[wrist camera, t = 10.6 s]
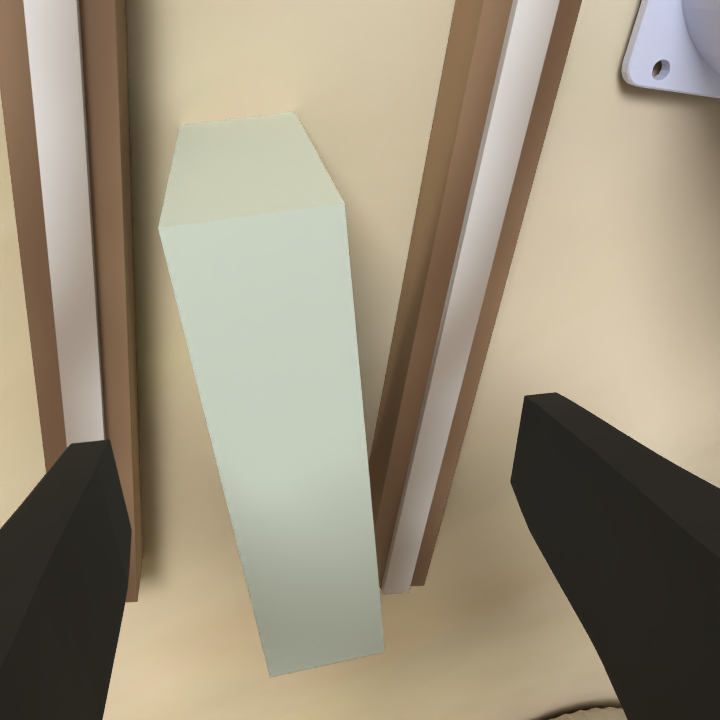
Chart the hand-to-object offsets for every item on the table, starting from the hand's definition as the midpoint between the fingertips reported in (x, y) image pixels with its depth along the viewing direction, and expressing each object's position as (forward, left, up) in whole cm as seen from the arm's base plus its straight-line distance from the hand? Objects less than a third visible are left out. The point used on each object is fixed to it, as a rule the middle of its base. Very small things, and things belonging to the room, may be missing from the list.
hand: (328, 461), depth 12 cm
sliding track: (0, +2, -9) cm, 10 cm away
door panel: (0, +2, -10) cm, 10 cm away
